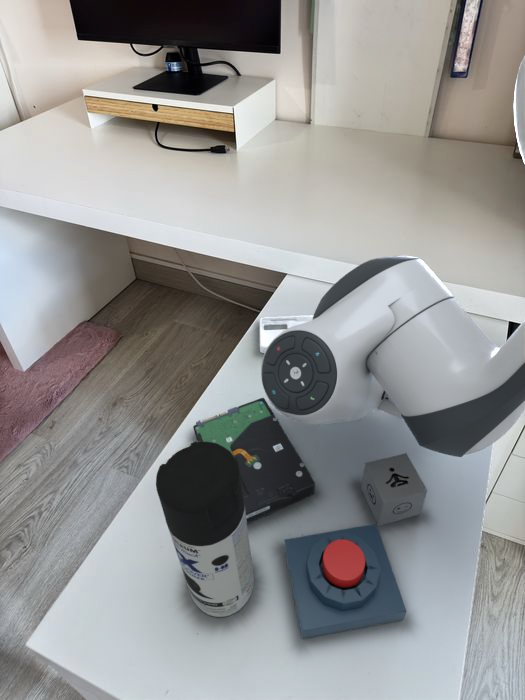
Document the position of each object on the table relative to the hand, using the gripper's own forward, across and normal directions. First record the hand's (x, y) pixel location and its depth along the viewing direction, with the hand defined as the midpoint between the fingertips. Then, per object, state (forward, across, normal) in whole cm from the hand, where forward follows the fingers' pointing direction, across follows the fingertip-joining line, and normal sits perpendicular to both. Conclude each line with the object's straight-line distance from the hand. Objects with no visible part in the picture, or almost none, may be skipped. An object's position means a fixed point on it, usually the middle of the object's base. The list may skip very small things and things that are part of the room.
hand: (370, 384), depth 68 cm
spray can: (-20, +3, +24) cm, 31 cm away
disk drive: (-10, +8, +14) cm, 19 cm away
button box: (-15, -7, +20) cm, 26 cm away
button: (-18, -7, +17) cm, 26 cm away
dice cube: (-7, -8, +12) cm, 16 cm away
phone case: (+8, +13, -3) cm, 16 cm away
